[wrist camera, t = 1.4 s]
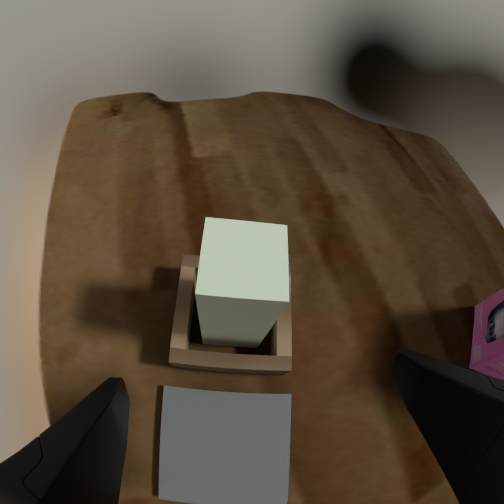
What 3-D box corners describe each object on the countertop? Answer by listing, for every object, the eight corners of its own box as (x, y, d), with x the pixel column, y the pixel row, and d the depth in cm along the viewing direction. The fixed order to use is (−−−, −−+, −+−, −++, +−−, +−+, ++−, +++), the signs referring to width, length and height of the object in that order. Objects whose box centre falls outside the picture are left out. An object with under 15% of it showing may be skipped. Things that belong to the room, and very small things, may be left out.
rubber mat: (285, 502, 15) (287, 504, 14) (159, 496, 14) (158, 498, 13) (289, 394, 19) (291, 393, 19) (165, 385, 18) (163, 385, 18)
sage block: (256, 348, 21) (289, 301, 12) (203, 344, 21) (195, 294, 12) (258, 298, 23) (287, 225, 14) (207, 294, 23) (205, 217, 14)
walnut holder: (283, 374, 20) (291, 370, 18) (173, 367, 19) (168, 362, 17) (282, 277, 24) (290, 263, 22) (186, 269, 23) (183, 254, 21)
